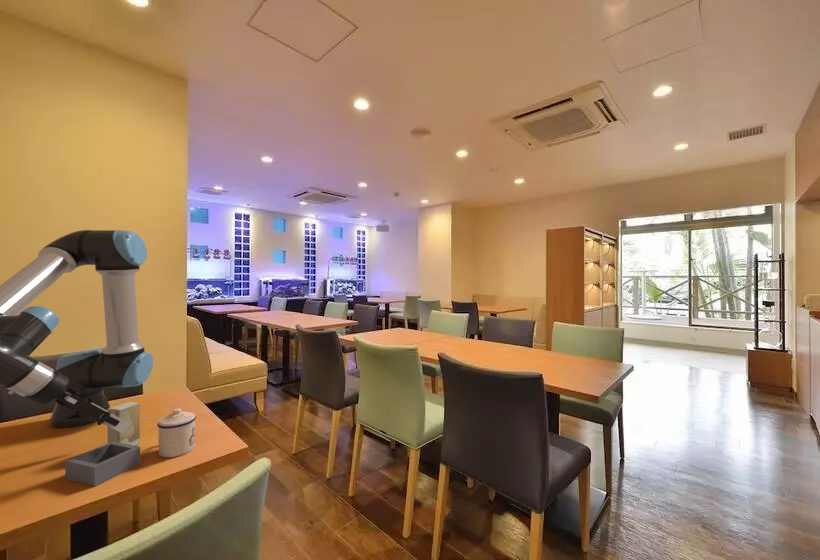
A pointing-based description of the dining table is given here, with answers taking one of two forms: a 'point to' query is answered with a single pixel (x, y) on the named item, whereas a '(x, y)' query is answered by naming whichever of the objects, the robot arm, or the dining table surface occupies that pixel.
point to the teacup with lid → (176, 433)
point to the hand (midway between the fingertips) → (117, 422)
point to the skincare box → (131, 415)
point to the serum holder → (102, 463)
